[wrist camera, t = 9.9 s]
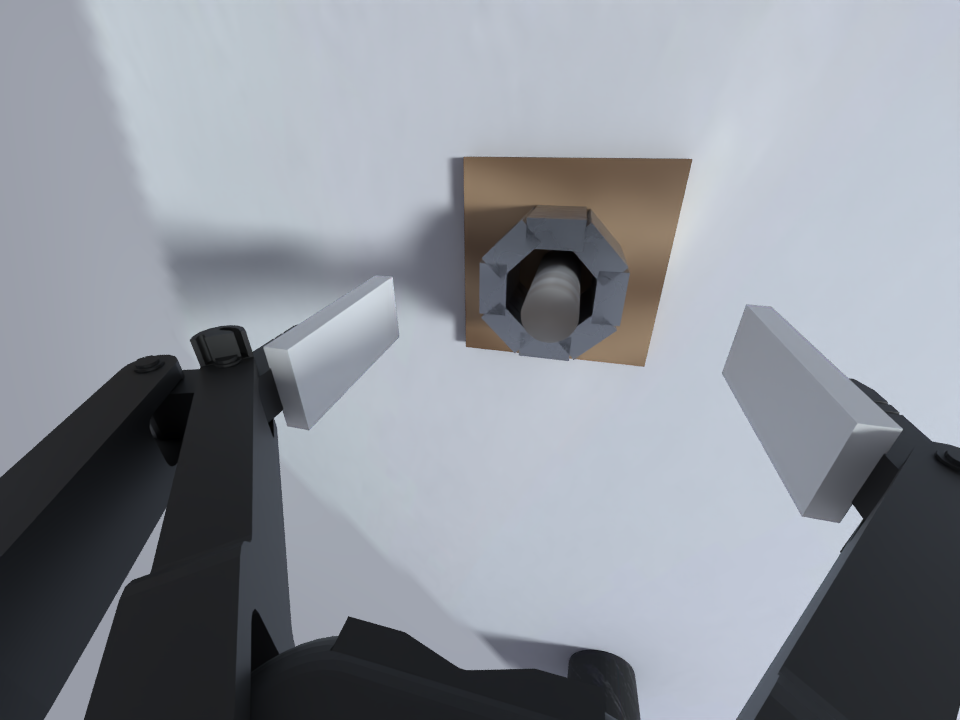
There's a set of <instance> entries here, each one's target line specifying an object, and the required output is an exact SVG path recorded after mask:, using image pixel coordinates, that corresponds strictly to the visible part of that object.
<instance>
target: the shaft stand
mask: <svg viewBox="0 0 960 720" xmlns="http://www.w3.org/2000/svg"><path fill="white" fill-rule="evenodd" d="M691 163H692V159H650V158H546V157H464V234H465V311H466V347H472V348H481V349H490V350H499V351H508V352H513V351H512V350H511V349H510V348H509V347H508V346H507V345H506V344H505V342H504V341H503V340H502V339H501V338H500V337H499V336H498V335H497V334H496V333H495V332H494V331H493V330H492V329H491V328H490V327H489V325H488V324H487V323H486V322H485V321H484V320H483V319H482V318H481V317H482V316H483V314H481V313H479V287H480V262H481V261H482V260H483V259H482V257H483V256H484V255H485V254H486V253H487V252H488V251H489V250H490V249H491V248H492V247H493V246H494V245H495V244H496V243H497V242H498V241H499V240H500V239H501V238H502V237H503V236H504V235H505V234H506V233H507V232H508V231H509V230H510V229H511V228H512V227H513V226H514V225H515V224H516V223H518V222H519V221H520V220H521V219H522V218H523V217H524V216H525V215H526V214H527V213H528V212H529V211H530V210H531V209H532V208H533V207H535V208H536V207H537V206H538V205H555V206H584V207H587V212H588V211H589V210H590V209H592V211H593V212H594V213H595V214H596V216H597V217H598V218H599V219H600V221H601V222H602V223H603V224H604V225H605V227H606V228H607V229H608V230H609V232H610V233H611V234H612V235H613V237H614V238H615V239H616V240H617V242H618V243H619V244H620V245H621V248H622V251H623V253H624V256H625V259H626V262H627V264H628V267H629V268H628V269H629V272H630V275H629V281H628V286H627V291H626V297H625V302H624V307H623V313H622V318H621V323H620V326H616V328H617V331H616V332H614V333H613V334H611V335H610V336H608V337H607V338H605V339H604V340H602V341H601V342H599V343H598V344H596V345H595V346H593V347H592V348H590V349H589V350H587V351H586V352H585V353H583V354H582V355H580V356H579V357H577V358H576V359H580V360H589V361H598V362H607V363H616V364H625V365H634V366H643V367H644V366H645V361H646V357H647V353H648V348H649V344H650V340H651V335H652V331H653V327H654V323H655V318H656V314H657V310H658V305H659V301H660V297H661V292H662V288H663V284H664V279H665V275H666V271H667V267H668V262H669V258H670V254H671V249H672V245H673V241H674V236H675V232H676V228H677V223H678V219H679V215H680V210H681V206H682V202H683V198H684V193H685V189H686V185H687V180H688V176H689V172H690V167H691ZM592 276H593V274H592V273H591V272H590V270H589V269H588V268H587V267H586V266H585V265H584V263H583V262H582V261H581V260H580V259H579V257H578V256H577V255H576V254H575V253H574V251H563V250H546V249H534V250H532V251H531V252H530V253H529V254H528V255H527V256H526V257H525V258H524V259H522V260H521V261H520V280H519V281H520V282H521V283H522V284H523V285H524V286H525V287H526V289H527V290H528V291H529V292H528V294H527V296H526V299H525V301H524V304H523V306H522V309H521V322H522V325H523V327H524V329H525V330H526V332H527V333H528V334H529V335H530V336H531V337H533V338H534V339H536V340H539V341H541V342H546V343H554V342H559V341H562V340H564V339H566V338H567V337H569V336H570V335H571V334H572V333H573V332H574V330H575V329H576V327H577V325H578V321H579V307H580V294H581V293H583V292H584V291H585V290H587V289H588V288H589V287H590V286H591V283H592ZM517 353H519V350H518V351H517ZM569 358H571V359H572V357H571V356H569Z"/></svg>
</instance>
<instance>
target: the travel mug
mask: <svg viewBox="0 0 960 720" xmlns="http://www.w3.org/2000/svg"><path fill="white" fill-rule="evenodd" d="M568 678H569V679H573V680H577V681H580V682H584V683H587V684H591V685H594V686H598V687H601V688H604V692H605V712H606V713H607V714H609V715H610V716H612V717H614V718H615V719H617V720H640V712H639V704H638V695H637V687H636V680H635V674H634V671H633V669H632V667H631V666H630V665H629V664H628V663H627V662H626V661H625V660H623V659H621V658H620V657H618V656H616V655H613V654H610V653H607V652H603V651H596V650H586V651H580V652H577V653H575V654H574V655H572V656H571V658H570V660H569V666H568Z"/></svg>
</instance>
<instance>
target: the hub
mask: <svg viewBox="0 0 960 720" xmlns="http://www.w3.org/2000/svg"><path fill="white" fill-rule="evenodd" d="M534 249H546V250H563V251H574V253H575V254H576V255H577V256H578V257H579V259H580V260H581V261H582V262H583V263H584V265H585V266H586V267H587V268H588V269H589V270H590V272H591V273H592V274H593V276H592V283H591V286H590V287H589V288H588V289H587V290H585V291H584V292H583V293H581V294H580V307H579V321H578V325H577V327H576V329H575V330H574V332H573V333H572V334H571V335H570V336H569V337H567V338H566V339H564V340H562V341H559V342H554V343H546V342H541V341H539V340H536V339H534V338H533V337H531V336H530V335H529V334H528V333H527V332H526V330H525V329H524V327H523V325H522V322H521V309H522V306H523V304H524V301H525V299H526V296H527V294H528V292H529V291H528V290H527V289H526V287H525V286H524V285H523V284H522V283H521V282H520V281H519V280H520V261H521V260H522V259H524V258H525V257H526V256H527V255H528V254H529V253H530V252H531V251H532V250H534ZM482 259H483V260H482V261H481V262H480V287H479V313H481V314H483V316H482V317H481V318H482V319H483V320H484V321H485V322H486V323H487V324H488V325H489V327H490V328H491V329H492V330H493V331H494V332H495V333H496V334H497V335H498V336H499V337H500V338H501V339H502V340H503V341H504V342H505V344H506V345H507V346H508V347H509V348H510V349H511V350H512V351H513V352H514V353H516V352H517V351H518V350H519V355H520V356H529V357H538V358H547V359H556V360H565V361H569V356H571V357H572V359H573V360H574V359H576V358H577V357H579V356H580V355H582V354H583V353H585V352H586V351H587V350H589V349H590V348H592V347H593V346H595V345H596V344H598V343H599V342H601V341H602V340H604V339H605V338H607V337H608V336H610V335H611V334H613V333H614V332H616V331H617V328H616V326H620V323H621V318H622V313H623V307H624V302H625V297H626V291H627V286H628V281H629V275H630V272H629V269H628V268H629V267H628V264H627V262H626V259H625V256H624V253H623V251H622V248H621V245H620V244H619V243H618V242H617V240H616V239H615V238H614V237H613V235H612V234H611V233H610V232H609V230H608V229H607V228H606V227H605V225H604V224H603V223H602V222H601V221H600V219H599V218H598V217H597V216H596V214H595V213H594V212H593V211H592V209H590V210H589V211H588V212H587V207H584V206H555V205H538V206H537V207H536V208H535V207H533V208H532V209H531V210H530V211H529V212H528V213H527V214H526V215H525V216H524V217H523V218H522V219H521V220H520V221H519V222H518V223H516V224H515V225H514V226H513V227H512V228H511V229H510V230H509V231H508V232H507V233H506V234H505V235H504V236H503V237H502V238H501V239H500V240H499V241H498V242H497V243H496V244H495V245H494V246H493V247H492V248H491V249H490V250H489V251H488V252H487V253H486V254H485V255H484V256H483V257H482Z"/></svg>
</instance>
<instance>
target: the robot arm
mask: <svg viewBox="0 0 960 720" xmlns="http://www.w3.org/2000/svg"><path fill="white" fill-rule="evenodd" d="M398 338H399V329H398V321H397V312H396V303H395V294H394V285H393V277H390V276H377V275H375V276H374V277H372V278H371V279H369V280H368V281H366V282H364V283H363V284H361V285H360V286H358V287H356V288H355V289H353V290H352V291H350V292H349V293H347V294H345V295H344V296H342V297H341V298H339V299H338V300H336V301H334V302H333V303H331V304H330V305H328V306H327V307H325V308H323V309H322V310H320V311H319V312H317V313H316V314H314V315H312V316H311V317H309V318H308V319H306V320H305V321H303V322H301V323H300V324H298V325H295V326H293V327H291V328H290V329H288V330H287V331H285V332H284V334H280V335H279V336H277V337H276V338H275V339H272V340H271V341H269V342H268V343H266V344H264V345H263V346H261V347H260V348H258V349H256V350H255V351H253V352H252V349H251V346H250V343H249V340H248V337H247V334H246V331H245V329H244V328H243V327H240V326H233V325H229V326H219V327H215V328H210V329H207V330H205V331H202V332H199V333H198V334H196V335H194V336H193V337H192V338H191V339H190V342H191V344H192V347H193V349H194V351H195V354H196V356H197V359H198V361H199V364H200V366H201V367H200V369H195V370H182V369H181V366H180V364H179V362H178V360H177V358H176V357H175V356H171V355H157V356H152V355H151V356H146V357H145V358H144V357H143V358H140V359H138V360H137V361H135V362H132V363H130V364H128V365H127V366H125V367H124V368H122V369H121V370H120V371H119V372H118V373H116V374H115V375H114V376H113V377H112V378H111V379H110V380H109V381H108V382H106V383H105V384H104V385H103V386H102V387H101V388H100V389H99V390H97V392H95V393H94V394H93V395H92V396H91V397H90V398H89V399H87V401H85V402H84V403H83V404H82V405H81V406H80V407H79V408H78V409H76V410H75V411H74V412H73V413H72V414H71V415H70V416H68V417H67V418H66V419H65V420H64V421H63V422H62V423H61V424H60V425H58V426H57V427H56V428H55V429H54V430H53V431H52V432H51V433H49V434H48V436H46V437H45V438H44V439H43V440H42V441H41V442H39V443H38V444H37V445H36V446H35V447H34V448H33V449H32V450H31V451H29V452H28V453H27V454H26V455H25V456H24V457H23V458H22V459H21V460H19V461H18V462H17V463H16V464H15V465H14V466H13V467H12V468H10V469H9V470H8V471H7V472H6V473H5V474H4V475H3V476H2V477H0V720H44V718H45V717H46V715H47V713H48V712H49V710H50V709H51V707H52V705H53V703H54V702H55V700H56V698H57V696H58V695H59V693H60V691H61V689H62V688H63V686H64V684H65V682H66V681H67V679H68V677H69V676H70V674H71V672H72V670H73V668H74V667H75V665H76V663H77V662H78V660H79V658H80V656H81V655H82V653H83V651H84V649H85V648H86V646H87V644H88V643H89V641H90V639H91V637H92V636H93V634H94V632H95V630H96V629H97V627H98V625H99V623H100V622H101V620H102V618H103V616H104V615H105V613H106V611H107V609H108V608H109V606H110V604H111V603H112V601H113V599H114V597H115V595H116V594H117V592H118V590H119V589H120V587H121V585H122V583H123V582H124V580H125V578H126V577H127V575H128V573H129V571H130V570H131V568H132V566H133V564H134V562H135V561H136V559H137V557H138V556H139V554H140V552H141V550H142V549H143V547H144V545H145V543H146V542H147V540H148V538H149V536H150V534H151V533H152V531H153V529H154V528H155V526H156V524H157V523H158V521H159V519H160V517H161V516H162V514H163V512H164V510H165V509H166V512H165V516H164V521H163V524H162V529H161V533H160V537H159V541H158V545H157V549H156V554H155V558H154V562H153V566H152V570H151V573H150V574H149V575H146V576H143V577H140V578H137V579H134V580H132V581H131V582H130V583H129V584H128V585H127V586H126V587H125V589H124V591H123V593H122V595H121V597H120V600H119V603H118V606H117V610H116V613H115V616H114V620H113V623H112V626H111V630H110V633H109V637H108V640H107V643H106V647H105V650H104V653H103V657H102V660H101V664H100V667H99V671H98V674H97V677H96V680H95V684H94V688H93V691H92V694H91V698H90V701H89V704H88V708H87V711H86V715H85V718H84V720H617V719H615V718H614V717H612V716H610V715H609V714H607V713H606V712H605V692H604V688H601V687H598V686H594V685H591V684H587V683H584V682H580V681H577V680H573V679H569V678H566V677H562V676H559V675H555V674H552V673H548V672H545V671H541V670H537V669H506V670H463V669H460V668H458V667H456V666H455V665H453V664H452V663H450V662H449V661H447V660H446V659H444V658H443V657H441V656H440V655H438V654H437V653H435V652H434V651H432V650H430V649H429V648H428V647H426V646H425V645H423V644H422V643H420V642H419V641H417V640H416V639H414V638H413V637H411V636H410V635H408V634H407V633H405V632H402V631H398V630H395V629H391V628H388V627H384V626H381V625H377V624H373V623H370V622H366V621H363V620H359V619H356V618H352V617H349V616H348V618H347V620H346V623H345V624H344V626H343V628H342V630H341V632H340V634H339V636H332V637H326V638H321V639H316V640H313V641H310V642H307V643H304V644H301V645H298V646H296V647H295V644H294V640H293V634H292V627H291V614H290V600H289V587H288V573H287V559H286V547H285V532H284V518H283V504H282V490H281V478H280V463H279V449H278V435H277V426H276V423H275V420H274V417H276V416H277V415H278V414H279V413H280V412H281V411H282V410H283V413H284V417H285V420H286V423H287V426H289V427H295V428H300V429H306V430H310V429H311V428H312V427H313V426H314V425H315V424H316V423H317V422H318V421H319V419H320V418H321V417H322V416H323V415H324V414H325V413H326V412H327V411H328V410H329V409H330V408H331V407H332V406H333V405H334V404H335V403H336V402H337V401H338V400H339V399H340V398H341V397H342V396H343V395H344V394H345V393H346V392H347V390H348V389H349V388H350V387H351V386H352V385H353V384H354V383H355V382H356V381H357V380H358V379H359V378H360V377H361V376H362V375H363V374H364V373H365V372H366V371H367V370H368V369H369V368H370V367H371V366H372V365H373V364H374V363H375V362H376V360H377V359H378V358H379V357H380V356H381V355H382V354H383V353H384V352H385V351H386V350H387V349H388V348H389V347H390V346H391V345H392V344H393V343H394V342H395V341H396V340H397V339H398ZM722 374H723V376H724V378H725V380H726V382H727V383H728V385H729V387H730V389H731V390H732V392H733V394H734V396H735V398H736V399H737V401H738V403H739V405H740V407H741V408H742V410H743V412H744V414H745V416H746V417H747V419H748V421H749V423H750V424H751V426H752V428H753V430H754V432H755V433H756V435H757V437H758V439H759V441H760V442H761V444H762V446H763V448H764V450H765V451H766V453H767V455H768V457H769V458H770V460H771V462H772V464H773V466H774V467H775V469H776V471H777V473H778V475H779V476H780V478H781V480H782V482H783V484H784V485H785V487H786V489H787V491H788V492H789V494H790V496H791V498H792V500H793V501H794V503H795V505H796V507H797V509H798V510H799V512H800V514H801V516H803V517H808V518H814V519H820V520H825V521H831V522H837V523H840V522H841V521H842V519H843V518H844V516H845V515H846V513H847V512H848V510H849V509H850V507H851V506H852V504H853V505H854V506H855V508H856V509H857V511H858V512H859V513H860V515H861V516H862V518H863V520H862V522H861V523H860V524H859V526H858V527H857V529H856V530H855V531H854V533H853V534H852V536H851V537H850V538H849V540H848V541H847V543H846V544H845V545H844V547H843V548H842V550H841V551H840V552H841V554H840V555H839V557H838V559H837V560H836V562H835V563H834V565H833V566H832V568H831V570H830V571H829V573H828V574H827V576H826V578H825V579H824V581H823V582H822V584H821V586H820V587H819V589H818V590H817V592H816V593H815V595H814V597H813V598H812V600H811V601H810V603H809V605H808V606H807V608H806V609H805V611H804V612H803V614H802V616H801V617H800V619H799V620H798V622H797V624H796V625H795V627H794V628H793V630H792V632H791V633H790V635H789V636H788V638H787V639H786V641H785V643H784V644H783V646H782V647H781V649H780V651H779V652H778V654H777V655H776V657H775V659H774V660H773V662H772V663H771V665H770V666H769V668H768V670H767V671H766V673H765V674H764V676H763V678H762V679H761V681H760V682H759V684H758V686H757V687H756V689H755V690H754V692H753V693H752V695H751V697H750V698H749V700H748V701H747V703H746V705H745V706H744V708H743V709H742V711H741V713H740V714H739V716H738V717H737V719H736V720H956V719H957V715H958V711H959V707H960V448H958V447H955V446H952V445H948V444H943V443H937V442H932V441H931V440H930V439H929V438H928V437H926V436H925V435H924V434H923V433H922V432H921V431H920V430H918V429H917V428H916V427H915V426H914V425H913V424H912V423H911V422H909V421H908V420H907V419H906V418H905V417H904V416H903V415H899V412H898V411H897V410H896V409H895V408H894V407H893V406H891V405H888V402H887V401H886V400H885V399H884V398H882V397H881V396H880V395H879V394H878V393H877V392H876V391H875V390H873V389H871V388H869V387H867V386H866V385H864V384H862V383H860V382H858V381H856V380H855V379H849V378H848V377H846V376H845V375H844V374H843V373H842V372H841V371H840V370H839V369H838V368H837V367H836V366H835V365H834V364H832V363H831V362H830V361H829V360H828V359H827V358H826V357H825V356H824V355H823V354H822V353H821V352H820V351H819V350H817V349H816V348H815V347H814V346H813V345H812V344H811V343H810V342H809V341H808V340H807V339H806V338H805V337H803V336H802V335H801V334H800V333H799V332H798V331H797V330H796V329H795V328H794V327H793V326H792V325H791V324H789V323H788V322H787V321H786V320H785V319H784V318H783V317H782V316H781V315H780V314H779V313H778V312H777V311H776V310H774V309H773V308H772V307H770V306H757V305H746V307H745V310H744V312H743V315H742V318H741V321H740V324H739V326H738V329H737V332H736V335H735V338H734V341H733V343H732V346H731V349H730V352H729V355H728V358H727V360H726V363H725V366H724V369H723V372H722ZM166 507H167V508H166Z"/></svg>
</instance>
